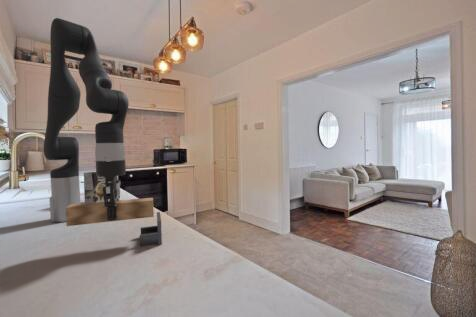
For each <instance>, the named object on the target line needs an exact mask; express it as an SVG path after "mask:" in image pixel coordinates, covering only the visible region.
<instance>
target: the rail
mask: <svg viewBox="0 0 476 317" xmlns="http://www.w3.org/2000/svg"><path fill="white" fill-rule="evenodd" d="M109 202H112V201H109ZM116 203H117V205H116V213H117V218H116V220H108V217H107V207H105V206H104V202H94V203H85V202H83V203H82V202H81V203H80V204H71V205H69V206H68V207H66V221H65V222H66V224H65V225H66V227H73V226H82V225H90V224H98V223H99V224H100V223H109V222H118V221H127V220H135V219H145V218H146V219H147V218H154V214H155V212H154V211H155V210H154V197H145V198H131V199H121V200H120V199H119V200H118V201H116Z"/></svg>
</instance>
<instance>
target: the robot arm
mask: <svg viewBox="0 0 476 317" xmlns="http://www.w3.org/2000/svg"><path fill="white" fill-rule="evenodd" d="M49 36H50V41H49V42H50V71H49V72H50V73H49V83H48V84H49V85H48V95H47V119H46V120H47V121H46V128H45V135H44V140H43V141H44V142H43V155H44V158H46V160H48V161H66V163H65V164H63V165H62V166H60V167H56V168H54V169H51V171H50V172H49V173H50V174H49V175H50V176H49V177H50V191H51V192H50V193H51V197H49V213H50V214H49V215H50V222H51V223H55V222H56V223H61V222H62V223H65V222H66V207H68V206H69V205H71V204H81V191H80V190H81V188H80V187H81V186H80V163H79V162H80V158H79V157H80V146H79V141H78V139H77V138H76V137H74V136H59V134H60V132H61V130H62V128H63V127H64V126H65V125H66V124H67V123H68V122H69V121H70V120H71V119H72V118H73V117H74V116H75V115H76V114H77V113H78V111H79V109H80V102H81V90H80V87H79V86H78V83H77V82H76V80H75V79H74V76H72V73H71V71H70V70H69V67H68V65H67V62H66V53H65V52H68V53H73V54H76V55H80V56H81V55H82V56H84V57H82V59H80V62H79V64H78V74H79V76H80V78H81V80H82V82H83V84H84V87H85V94H86V95H85V102H86V103H85V104H86V106H87V108H89V110H91V111H92V112H93V113H97V114H103V115H104V114H105V115H111V118H110V120H108V121H102V122H97V123H96V124H95V127H94V132H95V134H94V135H95V150H94V151H95V152H94V154H95V172H96V175H97V176H99V177H105V178H106V179H105V183H103V188H102V190H103V196H104V206H105V207H107V217H108V220H116V218H117V213H116V205H117V203H116V201H118V200H120V198H121V188H120V187H121V180H120V179H119V178H118V176H119V177H120V176H124V175H126V173H127V170H126V166H127V165H126V151H125V144H124V127H125V122H126V117H127V114H128V110H129V106H130V104H129V103H130V102H129V98H128V97H127V95H126V93H124V92H123V91H121V90H118V89H112V87H113V85H112V84H113V83H112V80H111V78H110V76H109V75H108V73H107V71H106V69H105V67H104V66H103V63H102V61H101V57H100V54H99V49H98V47H97V44H96V41H95V37H94V35H93V33H92V31H91V30H90V29H89V28H88V27H86V26H83V25H82V24H77V23H74V22H72V21H69V20H66V19H62V18H59V17H56V18H54V19H53V20H52V21H51V26H50V35H49ZM109 201H112V202H109Z"/></svg>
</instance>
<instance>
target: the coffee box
mask: <svg viewBox="0 0 476 317" xmlns="http://www.w3.org/2000/svg"><path fill="white" fill-rule="evenodd" d="M105 179H106V178H105V177H99V176H97V175H96V171H91V172H83V183H84V184H83V189H84V191H83V192H84V203H94V202H104V196H103V190H102V188H103V183H105Z"/></svg>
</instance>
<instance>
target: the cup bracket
mask: <svg viewBox="0 0 476 317" xmlns="http://www.w3.org/2000/svg"><path fill="white" fill-rule="evenodd" d="M161 216H162V215H161V211H158V212H156V225H151V226H149V225H148V226H142V227H140V234H139V247H141V246H142V247H145V246H149V245H156V244H157V245H158V246H160V245H162V244H163V242H162V240H163V239H162V238H163V237H162V236H163V234H162V218H161Z"/></svg>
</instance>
